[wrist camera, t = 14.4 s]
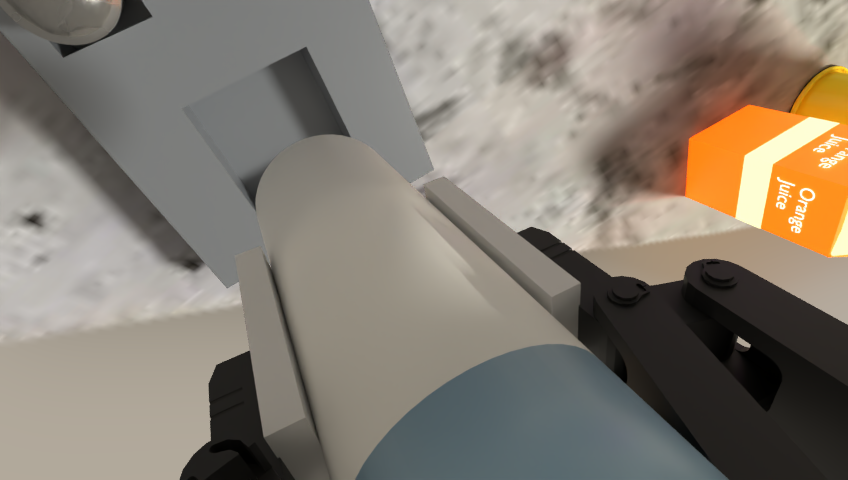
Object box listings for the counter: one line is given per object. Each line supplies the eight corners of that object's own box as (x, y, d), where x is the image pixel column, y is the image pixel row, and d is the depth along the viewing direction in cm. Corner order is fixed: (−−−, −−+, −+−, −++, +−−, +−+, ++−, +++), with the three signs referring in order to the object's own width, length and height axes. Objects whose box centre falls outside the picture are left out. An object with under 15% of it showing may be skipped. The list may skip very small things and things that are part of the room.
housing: (-86, -105, 19) (-133, -120, 16) (255, -235, 21) (265, -267, 19) (223, 262, 32) (227, 288, 29) (414, 154, 34) (434, 169, 32)
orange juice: (688, 137, 47) (942, 214, 31) (749, 103, 49) (1019, 159, 33) (684, 198, 52) (904, 292, 36) (740, 164, 53) (974, 240, 37)
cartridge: (256, 268, 18) (424, 1011, 5) (254, 130, 15) (570, 876, 3) (385, 257, 20) (725, 741, 7) (401, 137, 18) (946, 543, 5)
